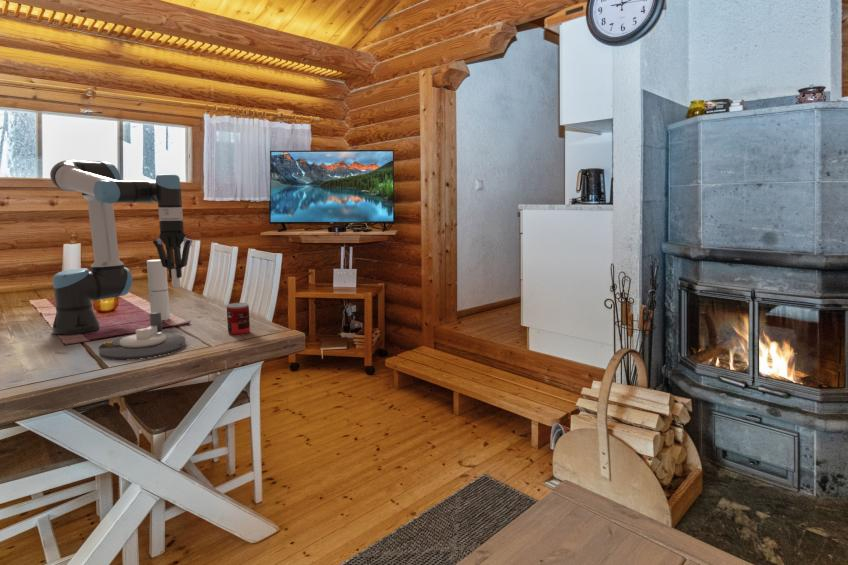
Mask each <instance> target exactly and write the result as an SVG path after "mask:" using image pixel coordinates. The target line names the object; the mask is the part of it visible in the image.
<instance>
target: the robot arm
mask: <svg viewBox="0 0 848 565" xmlns="http://www.w3.org/2000/svg"><path fill="white" fill-rule="evenodd" d="M49 174H50V176H49V177H50V180H51V182H52V184H53V185H54V186H55V187H57V188H58V189H61V190H63V191H66V192H79V193H81V197H82V198H84V199H85V200H86V201H87V209H88V217H89V226H90V234H91V243H92V250H93V259H94V261H93V263H92V264H91V265H90V270H89V268H85V267H78V268H72V269H66V270H63V271H59V272H56V273H55V274H54V275H53V276H52V281H53V282H52V288H53V294H54V301H55V302H54V303H55V310H56V311H55V312H56V313H55V317H54V321H53V325H52V334H54V335H59V334H63V336H64V335H66V336H67V335H69V334H70V335H78V334H79V333H80V334H85V333H90V332H94V331H96V330H99V329H100V322H99V320H98V317H97V315H96V313H95V311H94V309H93V301H100V300H106V299H116V298H118V297H119V298H120V297H124V296H126V295H128V294H129V292H130V291H131V289H132V286H133V275H132V273H131V271H130V269H129V268H128V267H125V263H124V262H122V261H121V260H120V254H119V246H118V237H117V229H116V228H117V226H116V219H115V210H114V204H125V203H129V204H134V203H135V204H137V203H138V204H144V203H146V204H154V203H157V208H158V209H157V210H158V219H159V222H158V223H159V231H160V232H159V237H158V238H157V239H154V240H153V241H152V243H153V245H154V246H155V248H156V250H157V254H158V256H159V259H160V260H161V263H162V266H163V267H166V268H167V269H168V278H169V279H171V284H172V288H179V287H181V280H180V278H182V277H183V274H182V273H183V272H182V268H184V267H187V265H188V260H189V254H190V247H191V245H192V243H193V240H192V239H190V238H187V237H186V234H185V232H184V231H185V228H184V221H183V220H182V219H184V216H183V215H184V214H183V202H182V201H183V199H182V198H183V197H182V186H181V180H180V176H179V175H177V174H157V175H156V176H155V180H122V177H121V173H120V171H119V170H118V167H116V166H115V165H114V163H111V162H108V161H101V160H100V161H99V160H80V159H78V160H76V159H66V160H63V161H59V162H58V163H56V164H54V165H53V166H52V168H51V170H50V173H49ZM182 243H183V248H182ZM163 244H164V245H165V249H164V245H163ZM181 248H182V249H183V250H182V251H181ZM165 250H166V251H165ZM181 252H182V254H181ZM70 335H69V336H70Z"/></svg>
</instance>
